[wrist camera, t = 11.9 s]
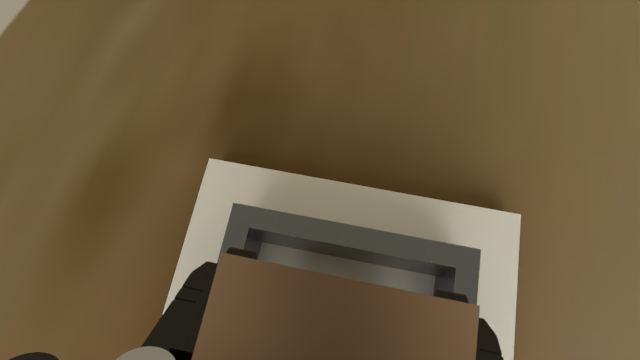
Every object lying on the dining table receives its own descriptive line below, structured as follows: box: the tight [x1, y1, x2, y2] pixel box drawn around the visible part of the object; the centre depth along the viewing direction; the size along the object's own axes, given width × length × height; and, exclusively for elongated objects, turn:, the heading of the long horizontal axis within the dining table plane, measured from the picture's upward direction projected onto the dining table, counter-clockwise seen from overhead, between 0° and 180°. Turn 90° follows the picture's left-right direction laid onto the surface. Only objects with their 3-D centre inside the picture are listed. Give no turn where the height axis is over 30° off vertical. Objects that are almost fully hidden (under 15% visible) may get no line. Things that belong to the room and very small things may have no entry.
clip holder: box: [162, 158, 521, 360], centre depth 16 cm, size 14×14×4 cm
